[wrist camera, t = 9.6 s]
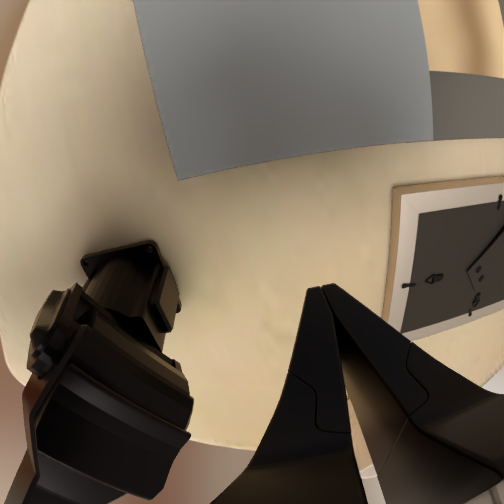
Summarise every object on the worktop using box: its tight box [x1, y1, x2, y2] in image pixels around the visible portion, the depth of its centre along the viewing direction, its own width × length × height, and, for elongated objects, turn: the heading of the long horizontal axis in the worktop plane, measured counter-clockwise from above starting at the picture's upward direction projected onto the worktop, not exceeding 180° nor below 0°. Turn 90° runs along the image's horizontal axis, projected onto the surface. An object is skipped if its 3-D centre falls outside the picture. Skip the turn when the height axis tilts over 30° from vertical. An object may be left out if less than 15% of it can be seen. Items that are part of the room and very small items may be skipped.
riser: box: [133, 0, 433, 181], centre depth 12 cm, size 14×16×4 cm
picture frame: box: [382, 176, 504, 341], centre depth 23 cm, size 16×3×21 cm
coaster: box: [417, 0, 504, 78], centre depth 12 cm, size 8×8×2 cm
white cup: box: [347, 398, 377, 478], centre depth 30 cm, size 8×8×10 cm
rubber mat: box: [406, 0, 504, 143], centre depth 13 cm, size 14×18×1 cm
